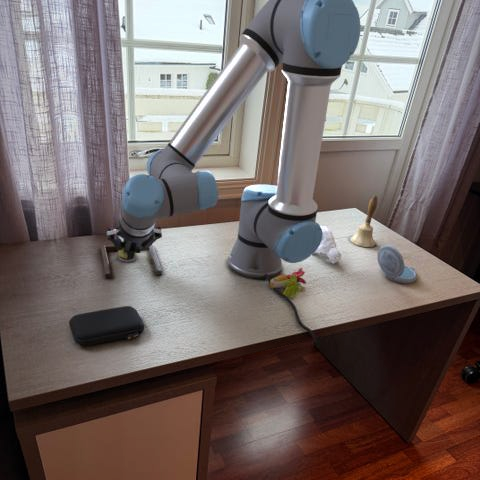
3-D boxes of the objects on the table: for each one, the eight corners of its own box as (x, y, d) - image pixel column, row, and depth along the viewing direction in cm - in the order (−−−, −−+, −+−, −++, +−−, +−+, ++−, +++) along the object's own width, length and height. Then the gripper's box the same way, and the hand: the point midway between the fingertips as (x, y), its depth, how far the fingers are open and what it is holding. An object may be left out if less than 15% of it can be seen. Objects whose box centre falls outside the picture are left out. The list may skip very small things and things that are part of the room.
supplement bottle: (131, 263, 121) (130, 235, 117) (115, 259, 122) (113, 231, 117) (139, 256, 125) (138, 228, 120) (124, 252, 126) (122, 225, 121)
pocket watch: (378, 239, 126) (412, 232, 133) (368, 273, 132) (401, 264, 140) (406, 255, 119) (440, 246, 127) (393, 289, 126) (427, 279, 133)
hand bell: (346, 241, 149) (358, 195, 140) (355, 234, 155) (368, 189, 146) (369, 249, 146) (383, 203, 136) (378, 242, 152) (392, 197, 142)
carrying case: (77, 354, 90) (148, 339, 96) (76, 342, 88) (148, 328, 94) (68, 324, 97) (134, 312, 103) (66, 313, 95) (134, 301, 101)
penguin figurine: (327, 222, 138) (352, 242, 130) (320, 246, 143) (343, 266, 136) (311, 224, 135) (335, 245, 127) (304, 248, 140) (327, 269, 133)
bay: (161, 275, 118) (161, 270, 117) (105, 278, 114) (105, 273, 113) (152, 247, 130) (152, 242, 130) (100, 249, 126) (100, 244, 125)
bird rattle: (264, 278, 114) (300, 276, 111) (273, 261, 123) (305, 259, 120) (268, 299, 117) (302, 298, 114) (275, 282, 126) (307, 280, 123)
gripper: (108, 238, 95) (106, 268, 117) (169, 236, 99) (156, 266, 121) (104, 205, 96) (103, 241, 118) (165, 204, 100) (152, 239, 122)
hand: (129, 253), depth 119 cm, fingers closed
